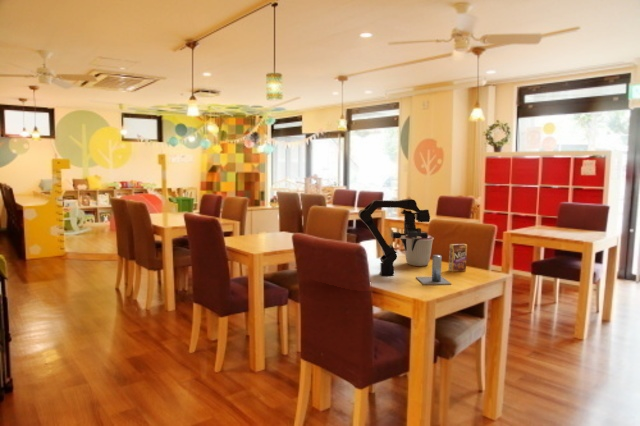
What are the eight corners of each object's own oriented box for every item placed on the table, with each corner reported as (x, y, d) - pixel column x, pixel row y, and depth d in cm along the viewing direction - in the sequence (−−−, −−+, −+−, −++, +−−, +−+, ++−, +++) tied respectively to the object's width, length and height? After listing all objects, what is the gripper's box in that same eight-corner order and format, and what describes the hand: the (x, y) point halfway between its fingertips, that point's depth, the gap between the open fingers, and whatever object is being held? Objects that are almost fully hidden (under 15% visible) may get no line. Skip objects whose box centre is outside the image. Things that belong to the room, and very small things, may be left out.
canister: (431, 262, 275) (432, 228, 273) (434, 268, 257) (435, 232, 255) (401, 261, 277) (402, 227, 275) (402, 267, 259) (403, 231, 257)
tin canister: (435, 282, 222) (436, 256, 221) (430, 280, 226) (430, 255, 225) (442, 281, 224) (443, 256, 223) (437, 279, 228) (437, 254, 227)
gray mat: (423, 284, 220) (423, 283, 220) (415, 278, 234) (415, 276, 234) (451, 284, 221) (451, 283, 220) (442, 277, 234) (442, 276, 234)
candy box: (452, 272, 248) (452, 245, 246) (448, 270, 252) (449, 243, 251) (466, 271, 250) (467, 244, 248) (462, 269, 254) (463, 243, 253)
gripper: (395, 224, 230) (395, 253, 232) (431, 224, 231) (430, 253, 233) (391, 221, 241) (390, 250, 243) (425, 221, 242) (424, 249, 244)
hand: (409, 250), depth 240 cm, fingers open, 3 cm apart
